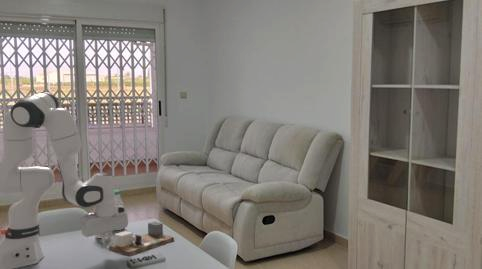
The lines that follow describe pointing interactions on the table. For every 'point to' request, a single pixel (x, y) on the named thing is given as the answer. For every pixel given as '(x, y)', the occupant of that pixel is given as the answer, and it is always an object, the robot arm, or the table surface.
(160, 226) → the dark grey cube
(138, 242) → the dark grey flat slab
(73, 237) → the table surface
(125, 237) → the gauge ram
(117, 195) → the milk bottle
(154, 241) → the wooden tray
